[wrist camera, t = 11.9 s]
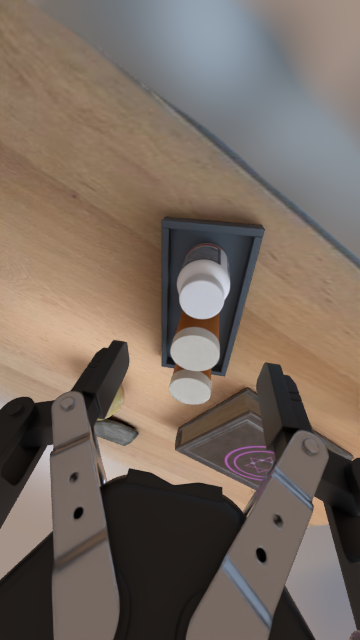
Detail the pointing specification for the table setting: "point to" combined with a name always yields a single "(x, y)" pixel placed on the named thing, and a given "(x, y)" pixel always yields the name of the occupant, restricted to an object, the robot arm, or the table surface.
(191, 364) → the amber bottle middle
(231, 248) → the tray
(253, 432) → the book
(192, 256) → the pill bottle
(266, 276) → the table surface
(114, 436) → the stone
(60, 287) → the table surface
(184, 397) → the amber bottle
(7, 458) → the robot arm
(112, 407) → the fruit
